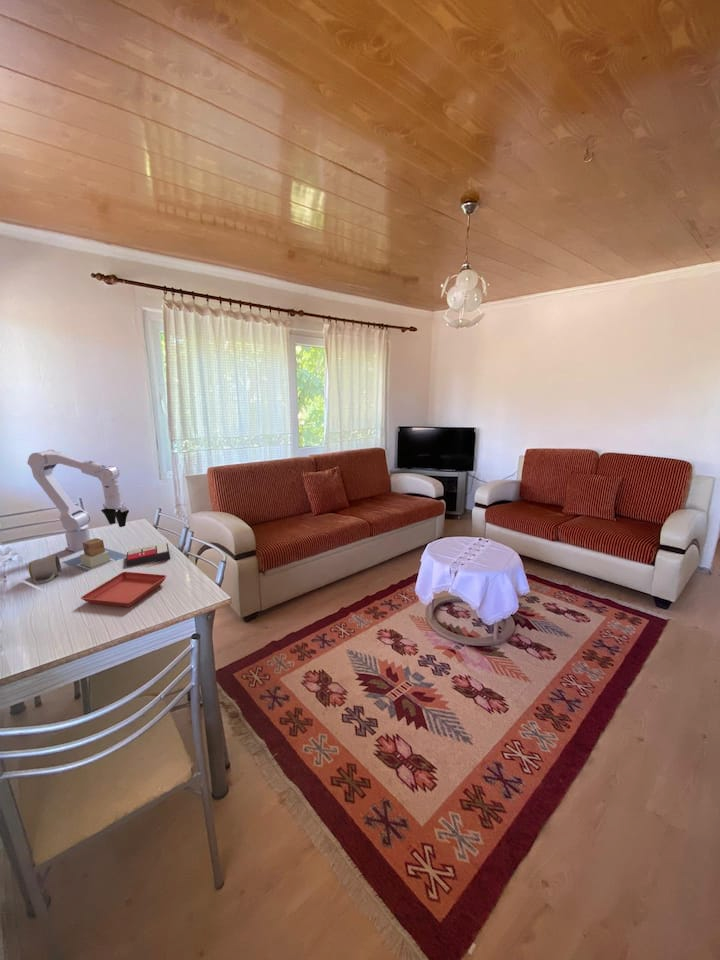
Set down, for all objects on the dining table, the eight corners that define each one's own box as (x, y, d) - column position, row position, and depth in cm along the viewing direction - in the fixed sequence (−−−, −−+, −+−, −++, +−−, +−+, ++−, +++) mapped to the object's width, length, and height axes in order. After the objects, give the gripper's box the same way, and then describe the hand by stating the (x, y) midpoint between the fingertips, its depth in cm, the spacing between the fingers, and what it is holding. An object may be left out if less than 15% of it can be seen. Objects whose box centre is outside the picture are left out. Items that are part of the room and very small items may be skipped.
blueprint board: (62, 563, 153) (62, 562, 153) (104, 549, 167) (104, 547, 166) (86, 573, 144) (86, 571, 144) (129, 556, 158) (128, 555, 158)
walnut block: (84, 554, 150) (82, 542, 149) (98, 549, 154) (96, 538, 153) (91, 556, 148) (89, 544, 147) (105, 552, 152) (102, 540, 151)
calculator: (126, 550, 157) (167, 541, 164) (128, 559, 158) (168, 550, 165) (125, 560, 147) (168, 550, 154) (127, 570, 148) (170, 559, 155)
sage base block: (81, 564, 150) (79, 554, 150) (100, 557, 156) (98, 548, 156) (91, 568, 147) (89, 558, 146) (110, 561, 153) (108, 551, 152)
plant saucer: (130, 612, 119) (128, 602, 118) (80, 606, 122) (78, 597, 121) (168, 583, 136) (167, 575, 135) (124, 579, 139) (123, 571, 139)
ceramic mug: (34, 575, 143) (30, 556, 141) (62, 570, 147) (58, 551, 145) (29, 588, 134) (24, 568, 132) (58, 582, 138) (54, 562, 136)
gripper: (131, 494, 164) (136, 524, 167) (112, 490, 171) (117, 520, 174) (114, 498, 158) (119, 530, 161) (95, 494, 165) (100, 524, 168)
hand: (117, 525), depth 167 cm, fingers open, 7 cm apart
